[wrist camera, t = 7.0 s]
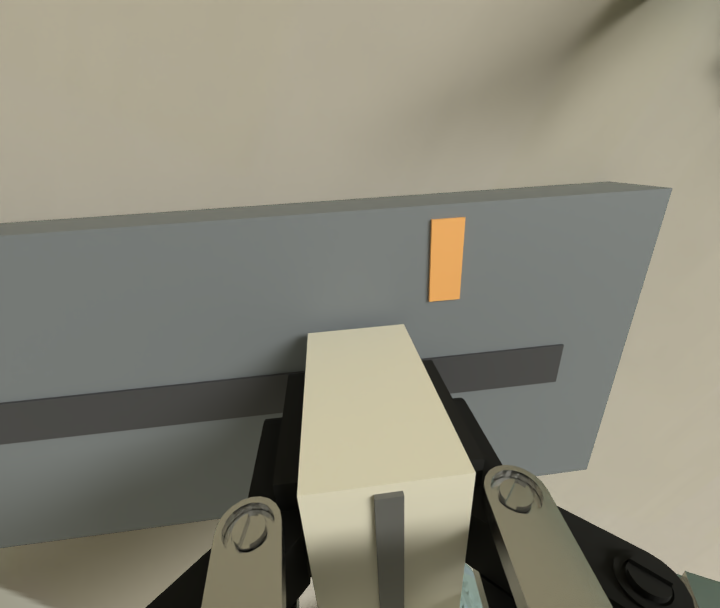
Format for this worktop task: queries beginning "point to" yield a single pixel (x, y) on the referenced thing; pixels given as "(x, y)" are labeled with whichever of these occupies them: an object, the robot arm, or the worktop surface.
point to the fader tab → (380, 475)
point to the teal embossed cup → (469, 590)
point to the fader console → (296, 336)
